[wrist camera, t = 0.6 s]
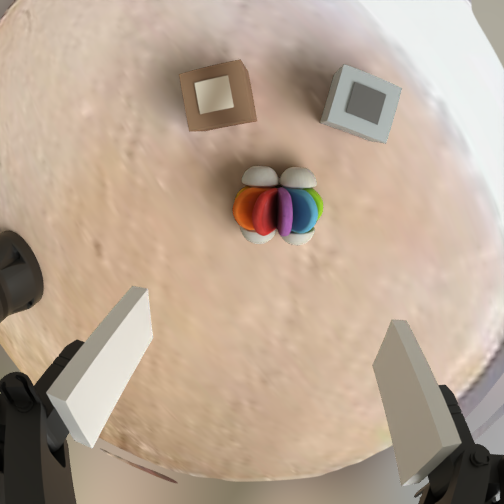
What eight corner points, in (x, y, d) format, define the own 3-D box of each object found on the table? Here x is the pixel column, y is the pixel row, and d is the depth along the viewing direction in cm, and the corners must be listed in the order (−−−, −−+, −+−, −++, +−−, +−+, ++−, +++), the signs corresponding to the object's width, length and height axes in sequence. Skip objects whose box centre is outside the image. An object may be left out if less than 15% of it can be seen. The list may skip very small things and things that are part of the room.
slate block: (319, 122, 30) (327, 120, 25) (333, 75, 28) (344, 63, 22) (369, 141, 30) (386, 143, 25) (383, 94, 28) (402, 88, 22)
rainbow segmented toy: (237, 163, 33) (224, 172, 26) (322, 167, 32) (332, 176, 26) (237, 234, 36) (226, 258, 30) (317, 237, 36) (324, 263, 29)
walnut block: (205, 131, 32) (188, 131, 26) (196, 82, 30) (178, 73, 24) (257, 121, 31) (251, 118, 25) (248, 71, 29) (240, 59, 23)
